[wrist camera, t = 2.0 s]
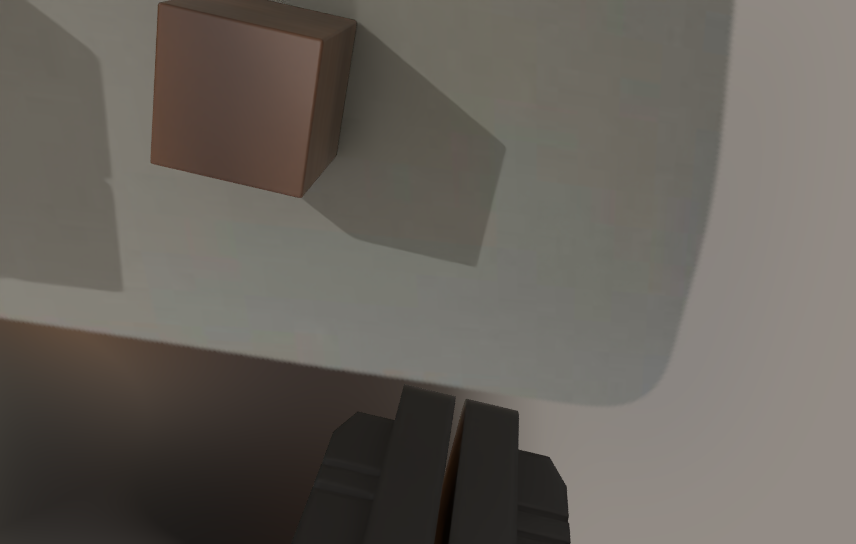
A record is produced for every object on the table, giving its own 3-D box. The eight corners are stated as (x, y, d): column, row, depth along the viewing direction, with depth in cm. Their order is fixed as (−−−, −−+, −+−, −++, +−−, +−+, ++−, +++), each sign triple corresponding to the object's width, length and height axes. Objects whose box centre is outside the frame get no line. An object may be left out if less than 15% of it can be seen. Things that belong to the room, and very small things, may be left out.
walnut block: (357, 20, 27) (323, 39, 22) (336, 156, 29) (301, 199, 25) (218, -12, 27) (157, 1, 23) (207, 126, 29) (149, 164, 25)
